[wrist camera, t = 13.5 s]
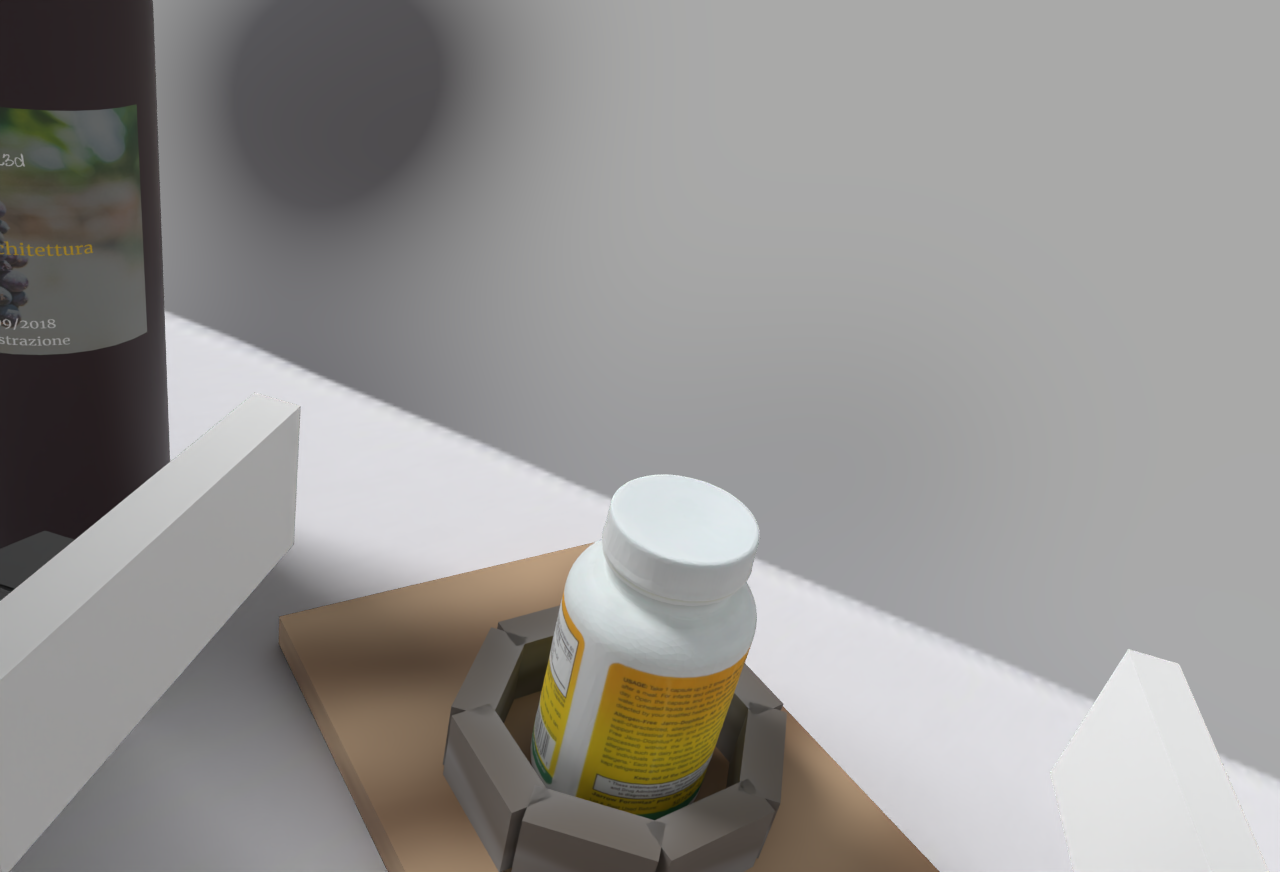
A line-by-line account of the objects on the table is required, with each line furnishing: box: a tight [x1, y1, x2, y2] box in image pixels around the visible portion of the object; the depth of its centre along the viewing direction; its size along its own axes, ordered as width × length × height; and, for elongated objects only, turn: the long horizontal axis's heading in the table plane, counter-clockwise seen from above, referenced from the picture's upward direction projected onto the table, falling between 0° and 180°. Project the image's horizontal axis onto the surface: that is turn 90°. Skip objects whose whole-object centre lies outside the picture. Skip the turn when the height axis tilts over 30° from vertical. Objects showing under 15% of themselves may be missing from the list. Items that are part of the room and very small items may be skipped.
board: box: [279, 542, 939, 872], centre depth 30 cm, size 20×14×4 cm
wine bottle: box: [0, 0, 170, 549], centre depth 29 cm, size 7×7×30 cm
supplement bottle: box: [530, 475, 760, 820], centre depth 28 cm, size 5×5×10 cm
